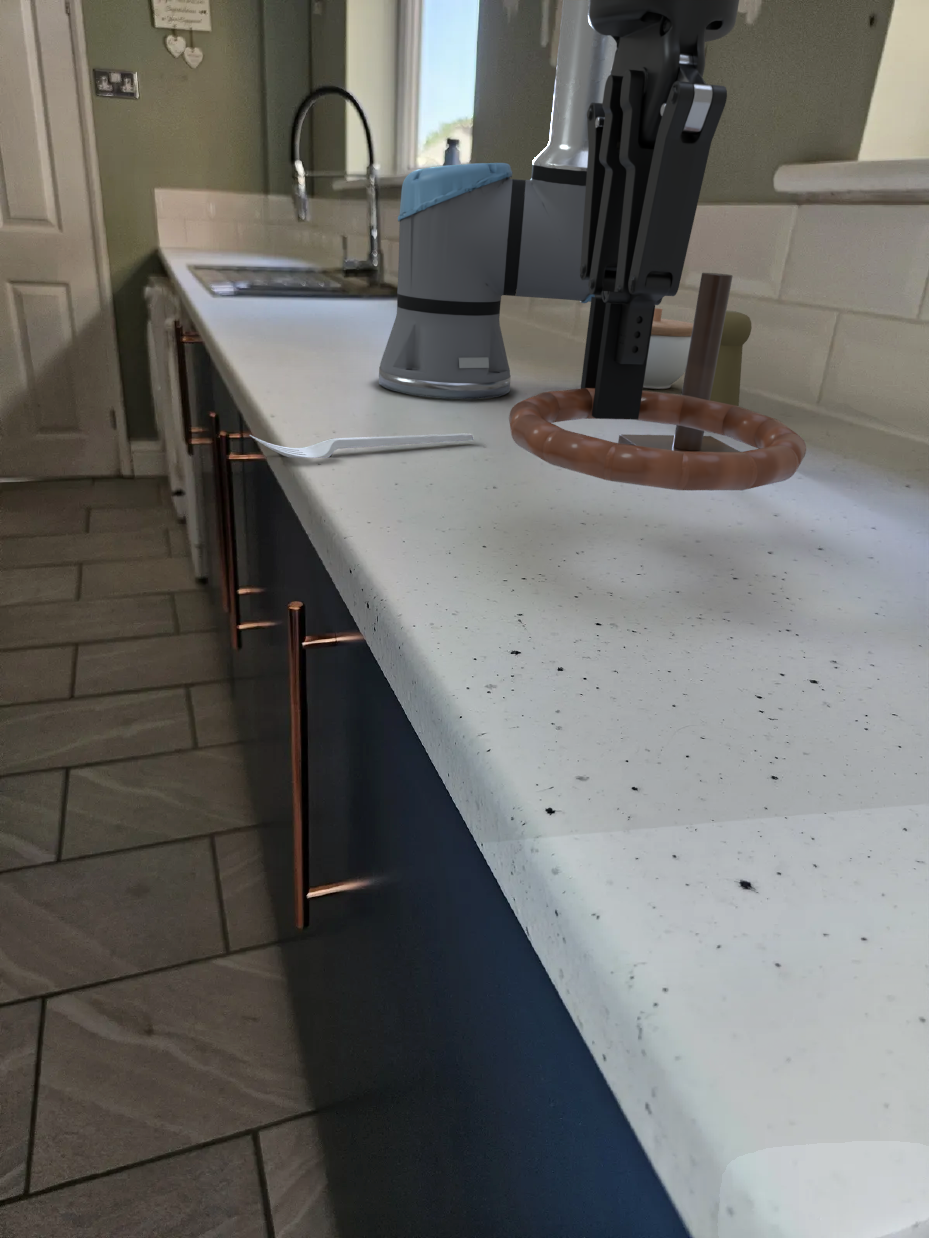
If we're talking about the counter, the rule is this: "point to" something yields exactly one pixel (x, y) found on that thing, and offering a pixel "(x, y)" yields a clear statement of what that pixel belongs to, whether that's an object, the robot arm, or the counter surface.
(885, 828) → the counter surface
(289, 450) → the fork
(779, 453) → the ring
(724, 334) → the olive pepper mill
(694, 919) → the counter surface
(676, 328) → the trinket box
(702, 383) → the rail post
